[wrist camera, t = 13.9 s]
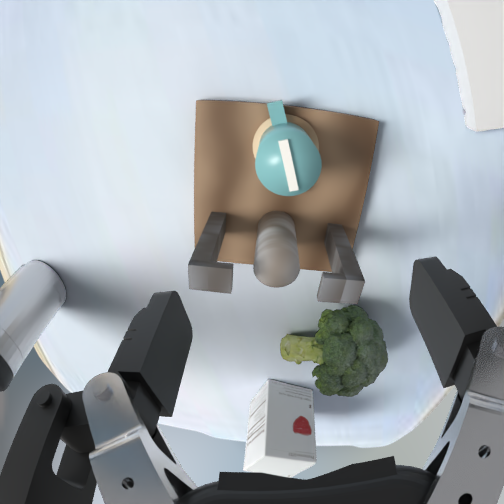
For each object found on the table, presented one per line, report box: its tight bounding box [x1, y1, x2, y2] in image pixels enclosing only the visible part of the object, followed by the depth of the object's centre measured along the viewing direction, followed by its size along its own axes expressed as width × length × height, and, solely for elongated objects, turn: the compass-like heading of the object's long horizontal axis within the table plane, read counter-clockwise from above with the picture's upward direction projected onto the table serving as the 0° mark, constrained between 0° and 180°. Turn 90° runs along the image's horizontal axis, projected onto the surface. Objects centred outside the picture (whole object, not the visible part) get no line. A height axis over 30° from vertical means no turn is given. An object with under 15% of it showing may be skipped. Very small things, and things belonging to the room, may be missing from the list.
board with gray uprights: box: [188, 100, 379, 304], centre depth 28 cm, size 18×18×12 cm
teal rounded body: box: [255, 100, 322, 196], centre depth 26 cm, size 9×5×7 cm, turn 14°
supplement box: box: [243, 379, 316, 478], centre depth 46 cm, size 9×9×15 cm
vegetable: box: [280, 305, 388, 397], centre depth 39 cm, size 12×13×15 cm
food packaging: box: [434, 0, 504, 132], centre depth 20 cm, size 15×3×20 cm
